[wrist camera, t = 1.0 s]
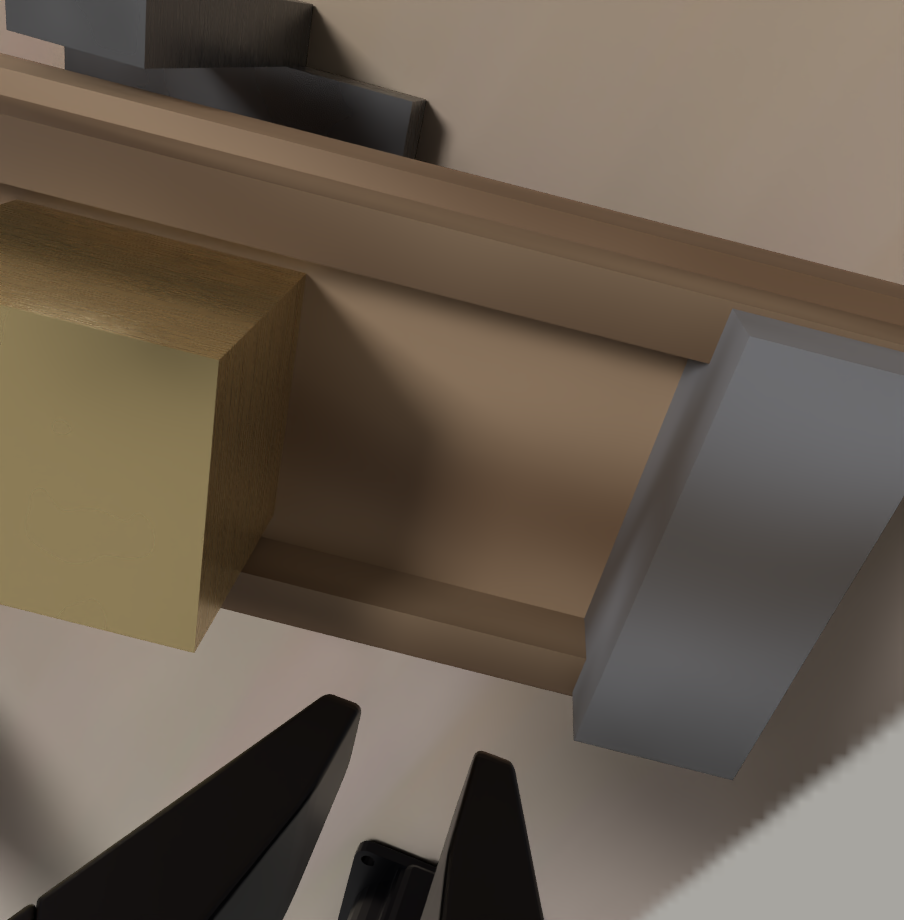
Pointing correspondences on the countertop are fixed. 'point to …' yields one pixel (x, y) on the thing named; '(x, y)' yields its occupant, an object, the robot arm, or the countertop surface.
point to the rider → (136, 421)
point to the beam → (522, 413)
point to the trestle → (223, 62)
